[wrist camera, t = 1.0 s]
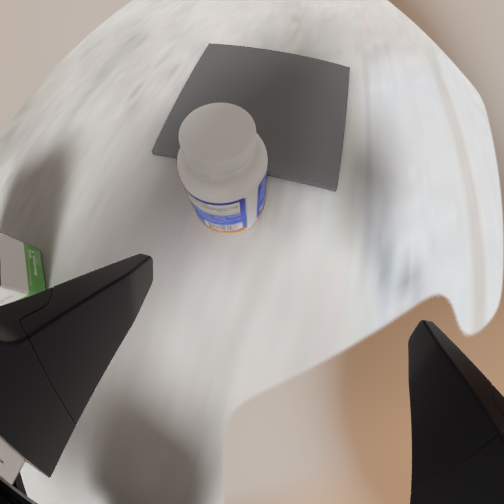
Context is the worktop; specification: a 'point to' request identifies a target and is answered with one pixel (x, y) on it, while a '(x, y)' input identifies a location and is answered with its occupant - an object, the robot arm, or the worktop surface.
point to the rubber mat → (272, 107)
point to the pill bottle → (223, 166)
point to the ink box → (19, 270)
